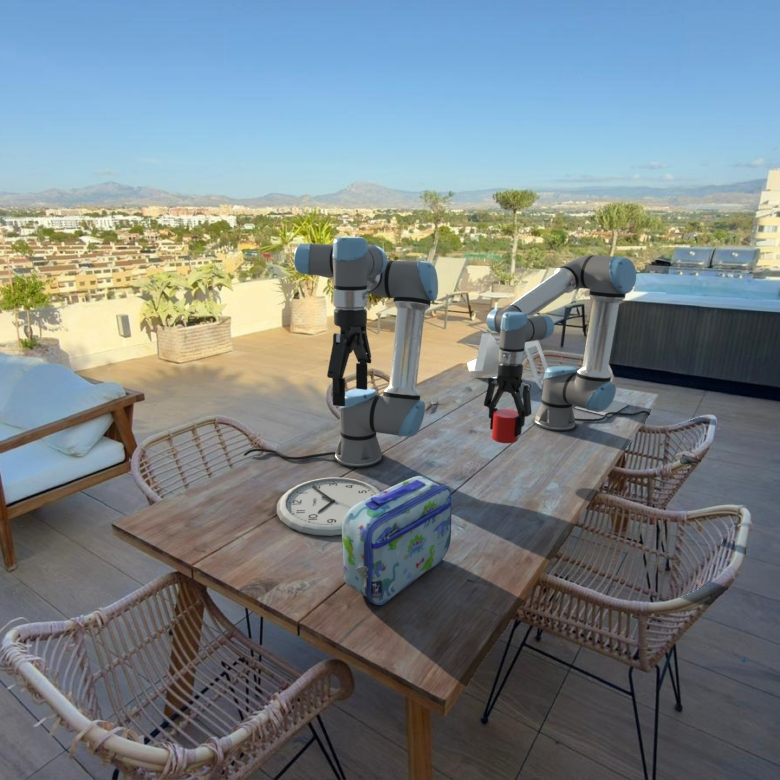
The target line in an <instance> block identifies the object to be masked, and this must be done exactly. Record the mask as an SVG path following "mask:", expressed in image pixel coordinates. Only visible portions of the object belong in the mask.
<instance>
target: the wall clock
mask: <svg viewBox="0 0 780 780" xmlns="http://www.w3.org/2000/svg"><path fill="white" fill-rule="evenodd" d="M380 492H382V491H381V490H380V489H379V488H377V487H376V486H374V485H372V484H371V483H369V482H365V481H362V480H359V479H355V478H349V477H338V476H337V477H335V476H333V477H332V476H331V477H322V478H317V479H312V480H307V481H305V482H302V483H299V484H297V485H295V486H293V487H292V488H290V489H288V490H287V491H286V492H285V493H284V494H283V495H281V496H280V498H279V499H278V502H277V503H276V515H277V517H278V518H279V520H280V521H281V522H282V523H283V524H285V525H286V526H287V527H288V528H290V529H293V530H295V531H297V532H299V533H303V534H308V535H312V536H327V537H328V536H329V537H331V536H332V537H333V536H342V525H343V521H344V518H345V516H346V514H347V512H348V511H349V510H350V509H351V508H352V507H353V506H354V505H356V504H358V503H360V502H362V501H364V500H366V499H368V498H370V497H372V496H374V495H376V494H378V493H380Z"/></svg>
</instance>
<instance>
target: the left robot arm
mask: <svg viewBox="0 0 780 780" xmlns="http://www.w3.org/2000/svg"><path fill="white" fill-rule="evenodd" d="M293 265H294V267H295V270H296V271H297V273H298V274H300V275H305V276H306V275H308V276H318V277H321V278H327V279H330V280H333V306H334V307H335V308H334V309H333V323H334V325H335V326H336V327H339V328H340V329H339V333H336V332H334V333H333V335H332V348H331V353H330V357H329V362H328V363H329V364H328V367H327V375H326V376H327V378H328V379H332V406H336V407H339V425H340V429H339V430H340V435H339V436H340V437H339V440H338V442H337V446H336V449H335V451H330V452H328V451H327V452H322V453H315V454H314V453H313V454H307V455H302V456H288V455H285V454H283V453H281V452H279V451H277V450H274V449H270V448H269V449H268V448H252V449H249V450H247V451H245V453H243V455H242V456H243V457H246V456H248V455H249V454H251V453H253V452H254V453H255V452H263V453H272V454H275V455H277V456H279V457H281V458H283V459H285V460H293V461H295V460H297V461H299V460H305V459H312V458H318V457H325V456H334V459H335V462H336V463H337V464H339V465H341V466H343V467H347V468H353V469H354V468H355V469H356V468H357V469H361V468H369V467H373V466H375V465H377V464H379V463H380V462H381V461H382V457H383V456H382V455H383V453H382V449H381V445H380V443H379V441H378V436H377V433H378V434H385V435H390V436H391V435H392V436H397V437H400V438H401V437H405V438H406V437H407V438H412V437H414V436H415V435H417V434H418V432H419V431H420V428H421V426H422V425H423V420H424V417H425V413H426V408H425V407H426V403H425V401H423V400H422V399H421V394H420V392H419V391H418V390H417V385H418V375H419V367H420V357H421V348H422V340H423V332H424V321H425V313H426V312H427V311H428V310H429V309H430V308H431V303H432V302H435V301H437V299H438V294H439V279H438V274H437V269H436V267H435V265H434V264H433V263H432V262H428V261H421V260H393V259H388V256H387V254H386V252H385V251H384V249H383V248H381V247H380V246H379V245H376V244H368V241H367V239H366V238H365V237H360V236H359V237H358V236H338V237H337V236H336V238H334V239H333V243H332V244H329V243H328V244H327V243H312V242H309V243H300V244H298V245H297V246H296V248H295V249H294V253H293ZM370 294H371V295H373V296H375V297H376V296H377V297H380V298H385V299H392V304H393V306H394V307H395V309H396V315H395V316H396V317H395V326H394V334H393V335H394V336H393V345H392V354H391V361H390V372H389V382H388V386H387V387H386V388H385V389H383V391H382V395H378V391H377V389H375V388H372V387H368V364H371V363H372V353H371V349H370V348H371V347H370V343H369V337H368V332H367V324H368V310H367V309H366V307H367V306H368V298H369V295H370ZM352 353H354V354H353V355H354V356H355V358H356V360H357V362H356V364H355V388H353V389H350V390H346V378H345V377H344V375H345V371H346V368H347V365H348V361H349V358H350V355H351V354H352Z"/></svg>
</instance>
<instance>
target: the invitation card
mask: <svg viewBox="0 0 780 780" xmlns="http://www.w3.org/2000/svg"><path fill="white" fill-rule="evenodd" d="M628 406H629V404H627V403H623V402H618V401H614V400H613V401H612V403H611V404H610V405H609V406H608V407H607V408H606V409H605V410H603V411H601V412H595V411H591V410H587V409H585V408H582V407H578V406H574V407H573V409H575V410H581V411H584V412H587V413H593V414H596V415H600V416H604V415H605V414H606V413H609V412H620V411H621V410H623V409H624V408H626V407H628ZM613 415H614V414H609V415H607V416H606V417H608V418H609V417H611V416H613Z"/></svg>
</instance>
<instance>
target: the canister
mask: <svg viewBox="0 0 780 780" xmlns="http://www.w3.org/2000/svg"><path fill="white" fill-rule="evenodd" d="M517 416H519V415H518V411H517V410H514V409H510V408H509V409H508V408H499V409H498V410H495V411H494V415H493V429H491V438H492V440H493V441H494V442H497V443H500V444H514V443H516V442H518V440H519V436H517V437H516V436H515V426H516V417H517Z"/></svg>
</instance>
